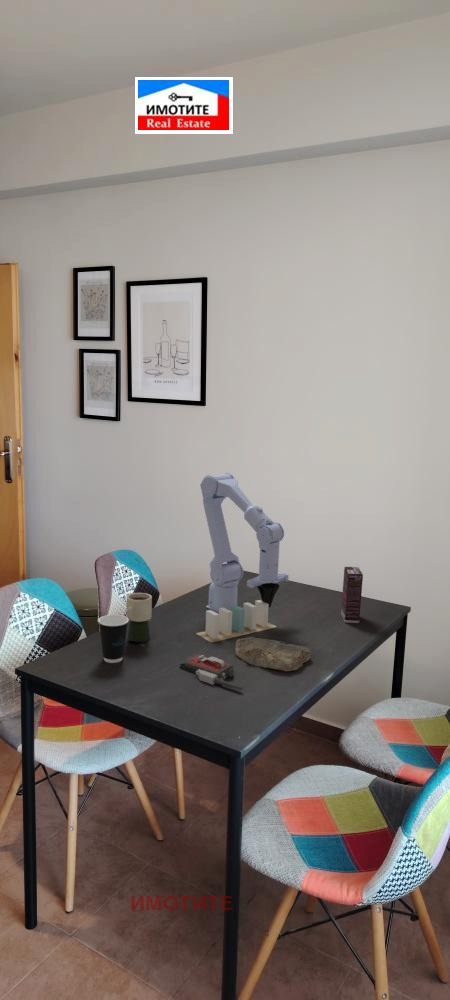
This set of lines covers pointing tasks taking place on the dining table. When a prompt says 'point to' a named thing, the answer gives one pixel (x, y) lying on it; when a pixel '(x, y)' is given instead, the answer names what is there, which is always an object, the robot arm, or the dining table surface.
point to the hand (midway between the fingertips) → (266, 606)
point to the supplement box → (351, 594)
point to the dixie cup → (113, 636)
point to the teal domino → (237, 618)
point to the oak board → (234, 633)
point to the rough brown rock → (271, 653)
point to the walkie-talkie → (210, 670)
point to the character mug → (139, 616)
